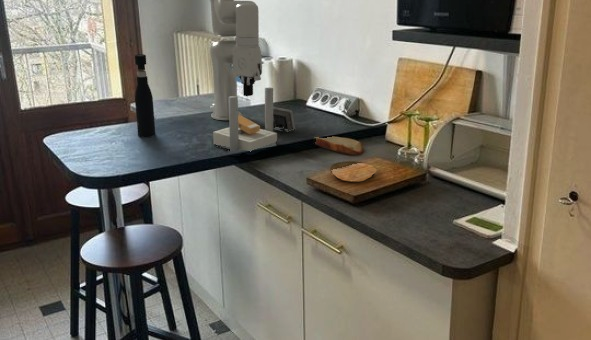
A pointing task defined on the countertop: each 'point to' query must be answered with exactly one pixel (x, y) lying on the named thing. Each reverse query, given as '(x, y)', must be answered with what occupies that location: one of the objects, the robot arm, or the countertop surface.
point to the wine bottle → (143, 101)
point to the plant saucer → (342, 164)
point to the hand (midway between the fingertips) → (248, 95)
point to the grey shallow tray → (245, 138)
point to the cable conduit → (233, 123)
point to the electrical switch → (283, 118)
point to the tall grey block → (269, 109)
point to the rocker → (247, 125)
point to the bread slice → (341, 145)
